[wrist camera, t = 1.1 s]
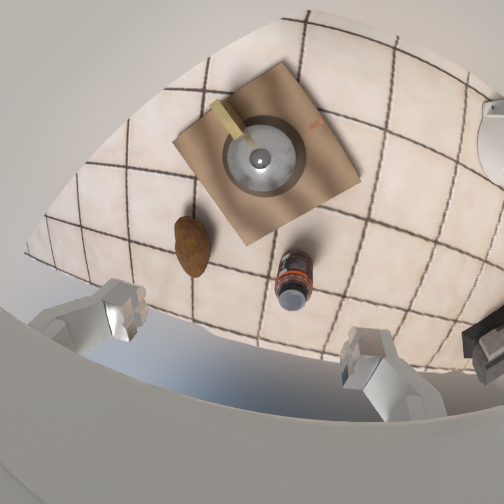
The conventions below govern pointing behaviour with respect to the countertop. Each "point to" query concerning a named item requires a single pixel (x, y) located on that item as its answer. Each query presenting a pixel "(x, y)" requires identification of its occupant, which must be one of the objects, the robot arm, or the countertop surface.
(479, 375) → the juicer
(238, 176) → the grey round gold-handled piece
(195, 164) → the panel
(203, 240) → the potato
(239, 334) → the countertop surface
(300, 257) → the supplement bottle
